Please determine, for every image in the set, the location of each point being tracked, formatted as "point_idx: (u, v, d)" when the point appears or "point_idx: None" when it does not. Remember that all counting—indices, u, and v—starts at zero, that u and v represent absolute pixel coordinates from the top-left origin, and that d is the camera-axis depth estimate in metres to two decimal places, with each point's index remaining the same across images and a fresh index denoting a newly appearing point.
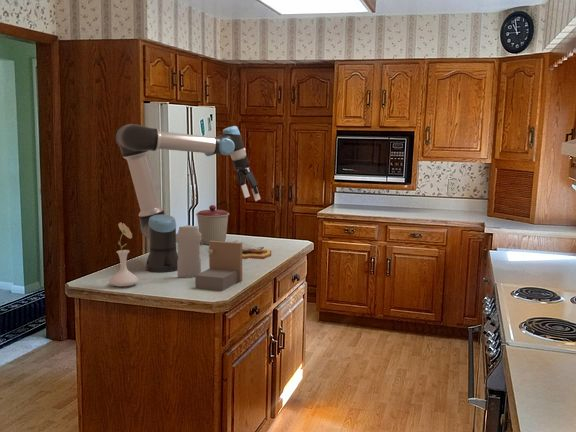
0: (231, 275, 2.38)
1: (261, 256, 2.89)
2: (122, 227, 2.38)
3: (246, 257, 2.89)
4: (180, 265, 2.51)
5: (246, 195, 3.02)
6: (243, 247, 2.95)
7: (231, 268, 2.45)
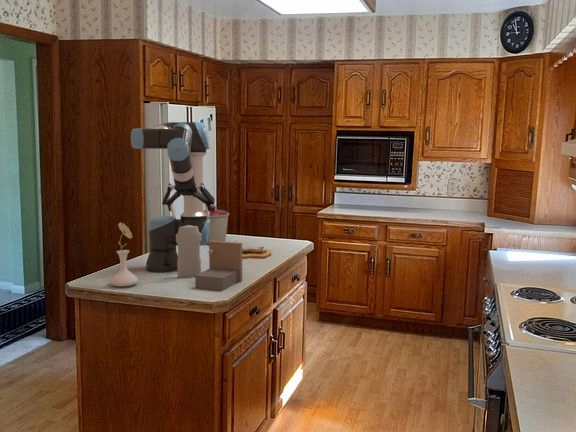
0: (231, 275, 2.38)
1: (262, 256, 2.89)
2: (122, 227, 2.38)
3: (247, 257, 2.89)
4: (180, 265, 2.51)
5: None
6: (243, 247, 2.95)
7: (231, 268, 2.45)
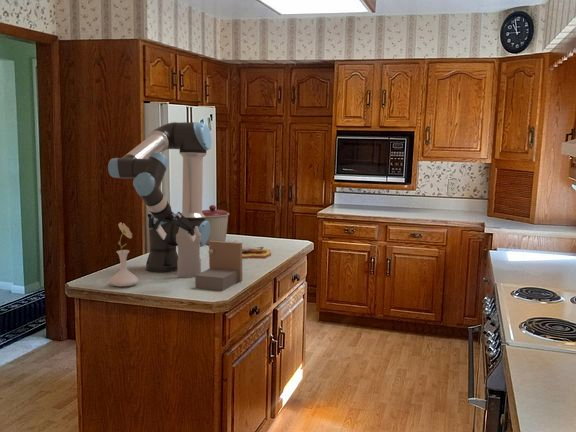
0: (231, 275, 2.38)
1: (262, 256, 2.90)
2: (122, 227, 2.38)
3: (247, 257, 2.89)
4: (180, 265, 2.51)
5: None
6: (243, 247, 2.95)
7: (231, 268, 2.45)
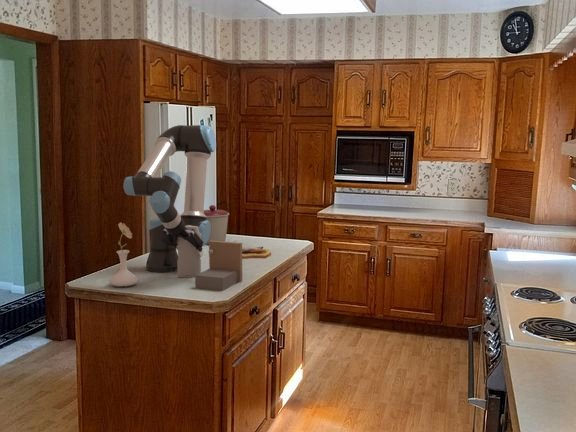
0: (231, 275, 2.38)
1: (263, 255, 2.90)
2: (122, 227, 2.38)
3: (248, 256, 2.89)
4: (180, 265, 2.51)
5: None
6: (243, 247, 2.95)
7: (231, 268, 2.45)
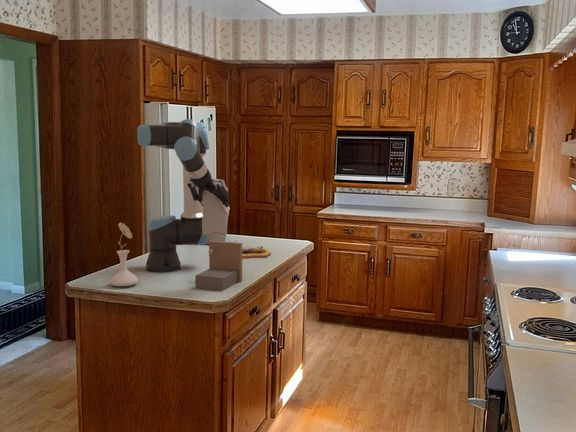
0: (231, 275, 2.38)
1: (264, 255, 2.91)
2: (122, 227, 2.38)
3: (249, 256, 2.90)
4: (205, 221, 2.34)
5: None
6: (243, 247, 2.95)
7: (231, 268, 2.45)
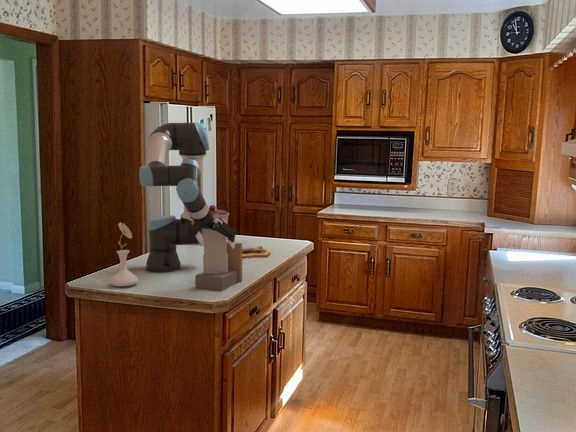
0: (231, 275, 2.38)
1: (264, 255, 2.92)
2: (122, 227, 2.38)
3: (250, 256, 2.90)
4: (206, 261, 2.36)
5: None
6: (243, 247, 2.95)
7: (231, 268, 2.45)
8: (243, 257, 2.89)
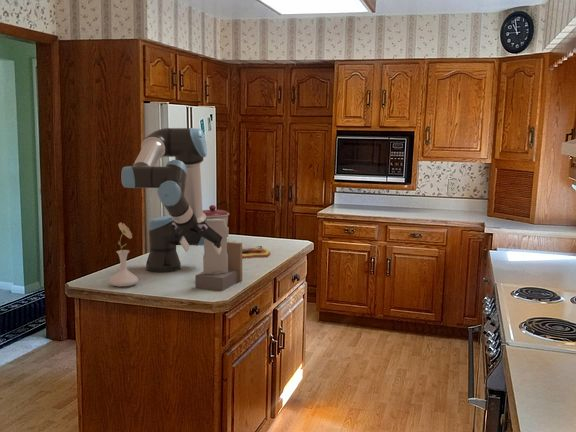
0: (231, 275, 2.38)
1: (265, 255, 2.92)
2: (122, 227, 2.38)
3: (250, 256, 2.90)
4: (206, 261, 2.36)
5: None
6: (243, 247, 2.95)
7: (231, 268, 2.45)
8: (244, 257, 2.89)
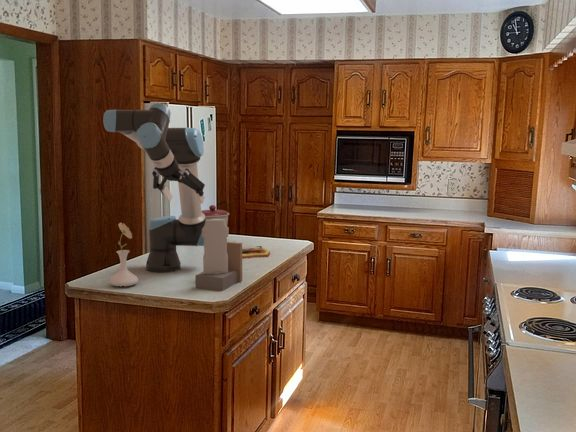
0: (231, 275, 2.38)
1: (265, 254, 2.92)
2: (122, 227, 2.38)
3: (251, 256, 2.90)
4: (206, 261, 2.36)
5: None
6: (243, 247, 2.95)
7: (231, 268, 2.45)
8: (244, 257, 2.89)
